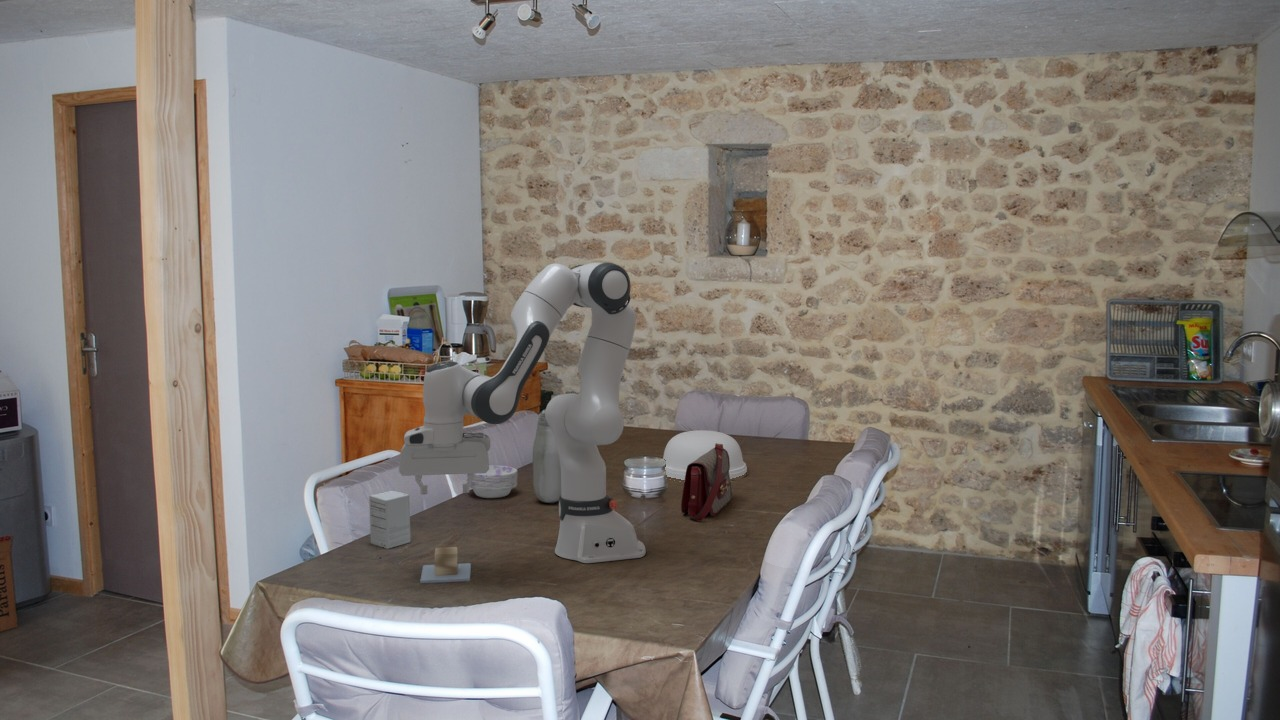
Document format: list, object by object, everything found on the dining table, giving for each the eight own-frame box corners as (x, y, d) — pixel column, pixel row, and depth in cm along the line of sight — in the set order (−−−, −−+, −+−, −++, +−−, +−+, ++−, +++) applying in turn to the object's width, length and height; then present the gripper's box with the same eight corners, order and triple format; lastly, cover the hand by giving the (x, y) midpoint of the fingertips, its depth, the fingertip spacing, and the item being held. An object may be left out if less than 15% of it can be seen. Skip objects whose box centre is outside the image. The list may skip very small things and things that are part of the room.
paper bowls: (522, 489, 308) (522, 464, 307) (511, 501, 293) (511, 475, 292) (474, 488, 310) (474, 463, 309) (461, 500, 295) (460, 474, 294)
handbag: (711, 524, 271) (712, 462, 269) (675, 520, 274) (675, 459, 272) (737, 500, 297) (738, 443, 295) (703, 497, 300) (704, 440, 299)
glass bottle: (562, 507, 287) (562, 412, 284) (528, 505, 289) (528, 410, 286) (571, 498, 297) (571, 406, 294) (539, 496, 299) (538, 405, 296)
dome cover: (645, 466, 343) (645, 426, 342) (724, 461, 353) (724, 422, 351) (678, 487, 313) (678, 443, 312) (763, 480, 323) (764, 438, 321)
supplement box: (393, 537, 256) (392, 489, 255) (411, 542, 252) (410, 494, 250) (369, 543, 251) (368, 495, 249) (387, 549, 246) (386, 499, 245)
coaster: (470, 565, 234) (470, 563, 234) (470, 581, 223) (470, 578, 223) (423, 567, 232) (423, 565, 232) (420, 583, 221) (420, 580, 221)
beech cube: (457, 567, 230) (457, 546, 230) (457, 574, 225) (456, 553, 225) (436, 568, 230) (435, 547, 229) (434, 575, 225) (434, 554, 224)
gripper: (490, 429, 229) (491, 488, 230) (399, 432, 226) (401, 491, 227) (490, 434, 222) (491, 494, 224) (397, 437, 219) (398, 498, 221)
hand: (445, 493), depth 226 cm, fingers open, 8 cm apart
